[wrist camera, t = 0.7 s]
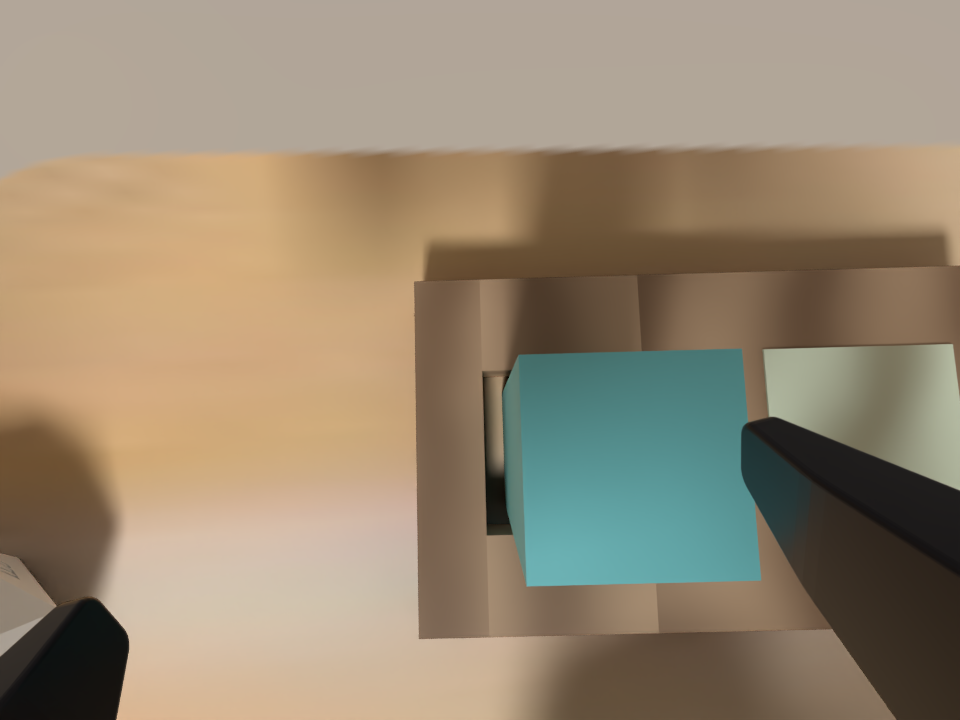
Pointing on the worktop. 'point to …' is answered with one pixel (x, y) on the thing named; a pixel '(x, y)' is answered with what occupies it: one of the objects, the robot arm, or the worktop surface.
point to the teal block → (629, 468)
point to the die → (19, 601)
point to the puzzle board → (663, 327)
